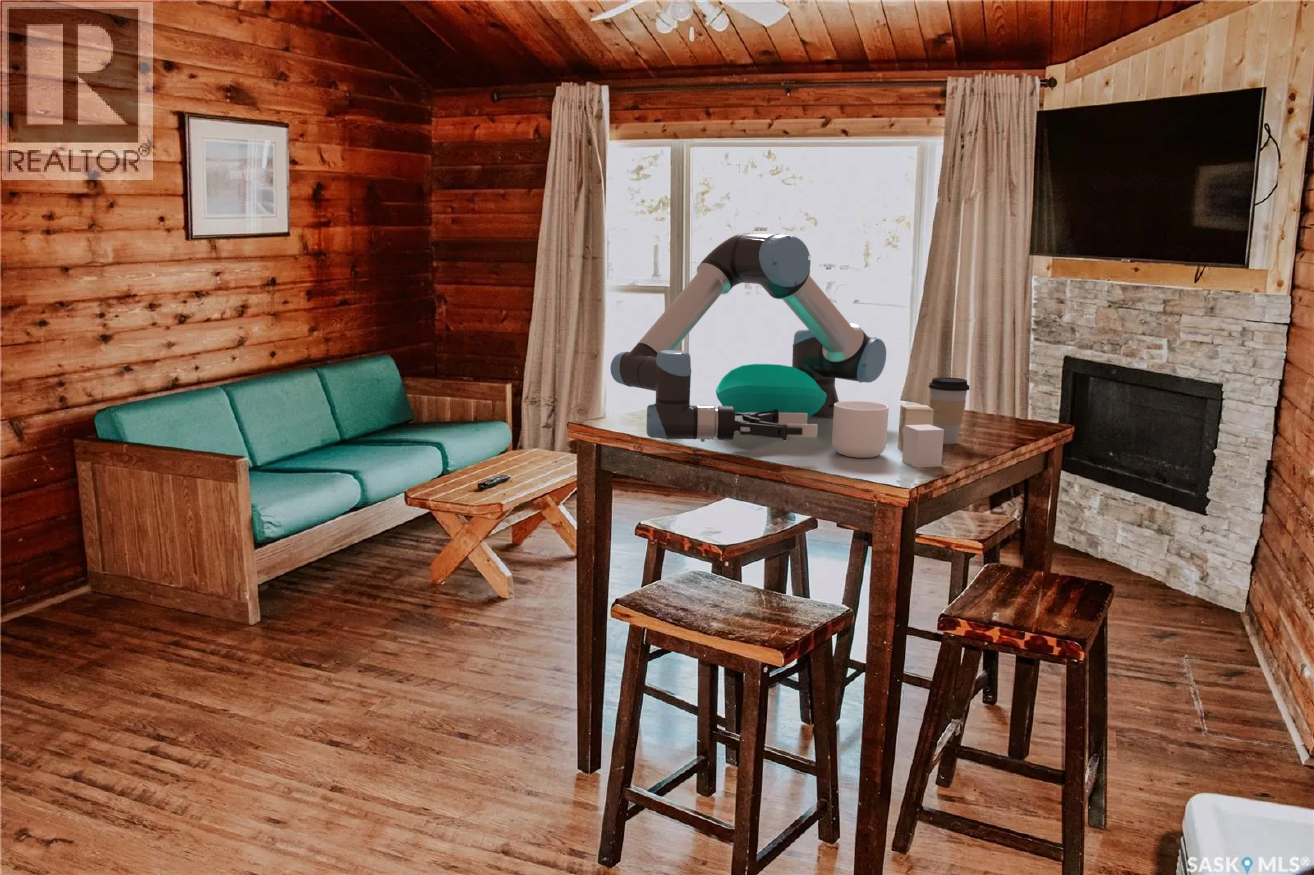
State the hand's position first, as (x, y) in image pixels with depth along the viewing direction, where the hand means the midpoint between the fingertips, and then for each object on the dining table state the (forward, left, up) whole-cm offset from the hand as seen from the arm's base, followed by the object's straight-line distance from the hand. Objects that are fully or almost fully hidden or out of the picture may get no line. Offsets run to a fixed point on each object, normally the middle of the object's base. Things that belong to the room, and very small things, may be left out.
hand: (812, 424), depth 229 cm
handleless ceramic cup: (0, +11, -7) cm, 13 cm away
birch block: (-6, +25, -7) cm, 26 cm away
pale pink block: (+8, +23, -7) cm, 25 cm away
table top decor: (-32, -5, -7) cm, 33 cm away
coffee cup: (-16, +35, -7) cm, 39 cm away
